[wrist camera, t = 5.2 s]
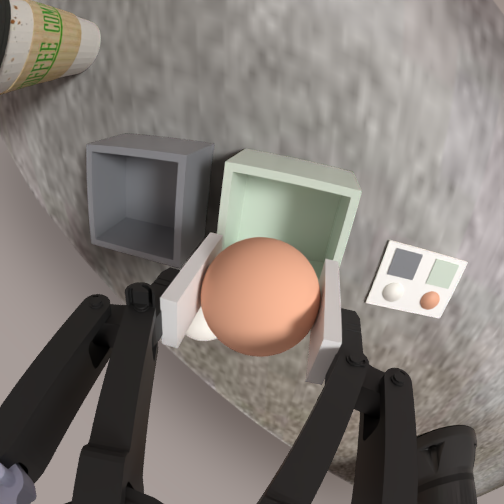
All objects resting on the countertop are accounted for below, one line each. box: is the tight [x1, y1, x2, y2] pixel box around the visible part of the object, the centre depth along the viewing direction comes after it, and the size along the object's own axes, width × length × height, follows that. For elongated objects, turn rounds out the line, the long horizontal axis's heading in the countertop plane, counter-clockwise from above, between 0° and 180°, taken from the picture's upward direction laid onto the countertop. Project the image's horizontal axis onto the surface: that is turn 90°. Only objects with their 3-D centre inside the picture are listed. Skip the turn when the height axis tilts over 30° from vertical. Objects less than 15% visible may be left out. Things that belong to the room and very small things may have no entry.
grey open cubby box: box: [86, 133, 214, 268], centre depth 26 cm, size 9×9×6 cm
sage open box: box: [217, 149, 362, 282], centre depth 25 cm, size 9×9×6 cm
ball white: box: [185, 307, 217, 341], centre depth 31 cm, size 6×6×6 cm
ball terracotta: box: [201, 237, 321, 356], centre depth 16 cm, size 6×6×6 cm
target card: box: [366, 240, 468, 318], centre depth 27 cm, size 7×9×1 cm
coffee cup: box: [0, 0, 101, 95], centre depth 17 cm, size 10×10×15 cm
